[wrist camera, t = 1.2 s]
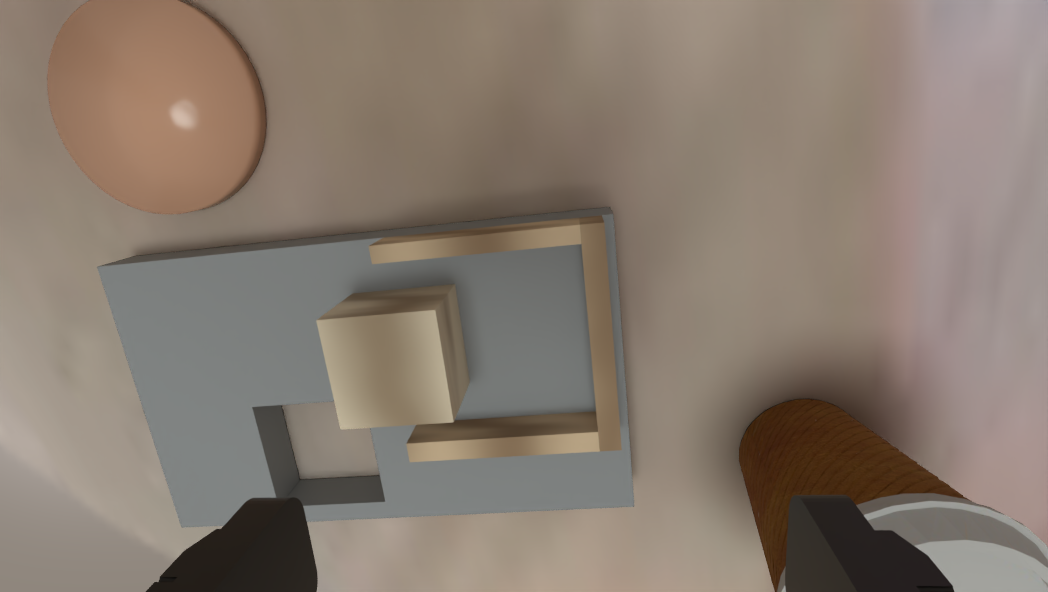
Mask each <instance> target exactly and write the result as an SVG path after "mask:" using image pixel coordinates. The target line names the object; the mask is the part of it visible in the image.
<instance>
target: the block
mask: <svg viewBox="0 0 1048 592" xmlns="http://www.w3.org/2000/svg"><path fill="white" fill-rule="evenodd" d="M316 322H317V326H318V331H319V335H320V340H321V344H322V349H323V353H324V358H325V362H326V367H327V371H328V376H329V380H330V385H331V389H332V393H333V398H334V402H335V407H336V411H337V416H338V420H339V425H340V429H341V430H344V429H359V428H375V427H390V426H406V425H421V424H437V423H452V422H454V420H455V418H456V415H457V413H458V411H459V408H460V406H461V403H462V401H463V398H464V396H465V393H466V391H467V388H468V386H469V383H470V379H469V373H468V366H467V360H466V353H465V346H464V340H463V333H462V327H461V320H460V314H459V307H458V300H457V294H456V287H455V284H451V285H440V286H429V287H418V288H407V289H396V290H385V291H374V292H363V293H352V294H351V295H350V296H348V297H347V298H346V299H344V300H343V301H341V302H340V303H339V304H337V305H336V306H335V307H333V308H332V309H331V310H329V311H328V312H327V313H325V314H324V315H323V316H321V317H320V318H319V319H317V320H316Z"/></svg>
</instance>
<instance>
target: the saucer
mask: <svg viewBox="0 0 1048 592" xmlns="http://www.w3.org/2000/svg"><path fill="white" fill-rule="evenodd" d="M47 81H48V96H49V103H50V108H51V112H52V116H53V120H54V123H55V125H56V128H57V130H58V133H59V135H60V137H61V139H62V141H63V143H64V145H65V147H66V149H67V150H68V152H69V154H70V155H71V157H72V158H73V160H74V161H75V162H76V164H77V165H78V166H79V167H80V169H81V170H82V171H83V172H84V173H85V174H86V175H87V176H88V177H89V178H90V179H91V181H92V182H93V183H95V184H96V185H97V186H98V187H100V188H101V189H102V190H103V191H104V192H106V193H107V194H109V195H110V196H112V197H114V198H115V199H117V200H119V201H121V202H123V203H125V204H127V205H129V206H131V207H134V208H137V209H139V210H143V211H147V212H151V213H158V214H181V213H186V212H192V211H196V210H201V209H206V208H209V207H212V206H215V205H217V204H219V203H221V202H223V201H225V200H227V199H229V198H230V197H231V196H233V195H234V194H235V193H237V192H238V191H239V190H240V189H241V188H242V187H243V186H244V185H245V183H246V182H247V181H248V179H249V178H250V177H251V175H252V174H253V172H254V170H255V168H256V166H257V164H258V162H259V159H260V156H261V154H262V151H263V146H264V141H265V134H266V110H265V104H264V98H263V93H262V90H261V86H260V83H259V80H258V78H257V75H256V73H255V70H254V68H253V66H252V64H251V62H250V61H249V59H248V57H247V55H246V53H245V52H244V51H243V49H242V48H241V46H240V45H239V44H238V42H237V41H236V40H235V39H234V38H233V36H232V35H231V34H230V33H229V32H228V31H227V30H226V29H225V28H224V27H223V26H222V25H221V24H220V23H218V22H217V21H216V20H215V19H213V18H212V17H211V16H209V15H208V14H206V13H205V12H204V11H202V10H200V9H198V8H196V7H194V6H192V5H190V4H188V3H185V2H182V1H180V0H89V1H88V2H86V3H85V4H83V5H82V6H80V7H79V8H78V9H77V10H76V11H75V12H74V13H73V14H72V15H71V16H70V17H69V18H68V20H67V21H66V22H65V23H64V25H63V26H62V28H61V30H60V32H59V33H58V35H57V37H56V40H55V42H54V45H53V48H52V51H51V55H50V60H49V65H48V76H47Z"/></svg>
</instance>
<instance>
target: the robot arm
mask: <svg viewBox="0 0 1048 592" xmlns="http://www.w3.org/2000/svg"><path fill="white" fill-rule="evenodd" d="M785 587H786V592H954V589H953V585H952V584H951V583H950V582H949V581H948V579H947V578H946V577H945V576H944V574H943V573H942V572H941V571H940V570H939V568H938V567H937V566H936V565H935V564H934V562H933V561H932V560H931V559H930V557H929V556H928V555H926V554H925V553H924V552H922V551H921V550H919V549H918V548H916V547H915V546H914V545H912V544H911V543H909V542H908V541H907V540H905V539H904V538H902V537H901V536H899V535H898V534H897V533H895V532H894V531H892V530H874V529H873V527H872V526H871V525H870V523H869V522H868V521H867V519H866V518H865V517H864V515H863V514H862V512H861V511H860V510H859V508H858V507H857V506H856V504H855V503H854V502H853V501H852V499H851V498H850V497H848V496H847V495H794V496H793V497H792V498H791V500H790V504H789V517H788V534H787V551H786V568H785ZM316 591H317V569H316V564H315V559H314V555H313V550H312V545H311V540H310V535H309V531H308V526H307V521H306V516H305V511H304V507H303V505H302V503H301V501H300V500H299V499H298V498H295V497H282V498H251V499H249V500H247V501H246V502H245V503H244V504H243V505H242V506H241V507H240V509H239V510H238V511H237V512H236V513H235V514H234V515H233V516H232V517H231V518H230V520H229V521H228V522H227V523H226V524H225V525H224V526H223V527H222V528H221V529H216V530H214V531H213V532H211V533H210V534H209V535H207V536H206V537H204V538H203V539H201V540H200V541H198V542H197V543H195V544H194V545H192V546H191V547H189V548H188V549H186V550H185V551H184V552H183V553H182V554H181V555H180V556H179V557H178V558H177V559H176V560H175V561H174V562H173V563H172V565H171V566H170V567H169V568H168V569H167V570H166V571H165V572H164V573H163V574H162V575H161V576H160V580H159V582H154V583H153V585H152V586H151V587H150V588H149V589H148V590H147V591H146V592H316Z"/></svg>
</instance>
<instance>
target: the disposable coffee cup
mask: <svg viewBox="0 0 1048 592" xmlns="http://www.w3.org/2000/svg"><path fill="white" fill-rule="evenodd" d="M739 462H740V466H741V470H742V473H743V477H744V481H745V484H746V488H747V492H748V495H749V499H750V503H751V506H752V510H753V514H754V517H755V521H756V525H757V529H758V532H759V536H760V539H761V543H762V547H763V550H764V554H765V558H766V561H767V565H768V569H769V572H770V576H771V580H772V583H773V586H774V590H775V592H786V587H785V568H786V551H787V534H788V517H789V504H790V500H791V498H792V497H793V496H794V495H847V496H848V497H850V498H851V499H852V501H853V502H854V503H855V504H856V506H857V507H858V508H859V510H860V511H861V512H862V514H863V515H864V517H865V518H866V519H867V521H868V522H869V523H870V525H871V526H872V527H873V529H874V530H892V531H894V532H895V533H897V534H898V535H899V536H901V537H902V538H904V539H905V540H907V541H908V542H909V543H911V544H912V545H914V546H915V547H916V548H918V549H919V550H921V551H922V552H924V553H925V554H926V555H928V556H929V557H930V559H931V560H932V561H933V562H934V564H935V565H936V566H937V567H938V568H939V570H940V571H941V572H942V573H943V574H944V576H945V577H946V578H947V579H948V581H949V582H950V583H951V584H952V585H953V589H954V592H1048V547H1047V546H1046V544H1045V543H1044V542H1042V541H1041V540H1040V539H1039V538H1038V537H1037V536H1036V535H1035V534H1033V533H1032V532H1031V531H1030V530H1029V529H1028V528H1027V527H1026V526H1024V525H1023V524H1022V523H1020V522H1018V521H1016V520H1014V519H1012V518H1010V517H1008V516H1006V515H1004V514H1002V513H1000V512H998V511H996V510H994V509H992V508H990V507H987V506H983V505H979V504H976V503H974V502H972V501H970V500H969V499H967V498H965V497H963V495H961V494H960V493H959V492H957V491H956V490H954V489H953V488H951V487H950V486H949V485H948V484H946V483H945V482H943V481H941V480H939V479H938V477H937V476H935V475H933V474H932V473H930V472H928V470H926V469H925V468H923V467H922V466H920V465H919V464H917V462H915V461H914V460H912V459H910V458H909V457H908V456H907V455H905V454H903V453H902V452H900V451H899V450H898V449H897V448H895V447H893V446H892V445H890V444H889V443H888V442H887V441H885V440H883V439H882V438H881V437H880V436H878V435H876V434H875V433H874V432H873V431H871V430H869V429H868V428H866V427H865V426H864V425H862V424H861V423H859V422H858V421H857V420H855V419H854V418H852V417H851V416H850V415H848V414H847V413H846V412H844V411H843V410H842V409H840V408H838V407H836V406H835V405H833V404H830V403H827V402H824V401H820V400H812V399H799V400H793V401H789V402H784V403H781V404H779V405H776V406H774V407H772V408H770V409H768V410H767V411H765V412H763V413H762V414H761V415H760V416H759V417H758V418H756V419H755V420H754V421H753V422H752V424H751V425H750V426H749V427H748V428H747V431H746V433H745V435H744V437H743V439H742V441H741V445H740V449H739Z"/></svg>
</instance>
